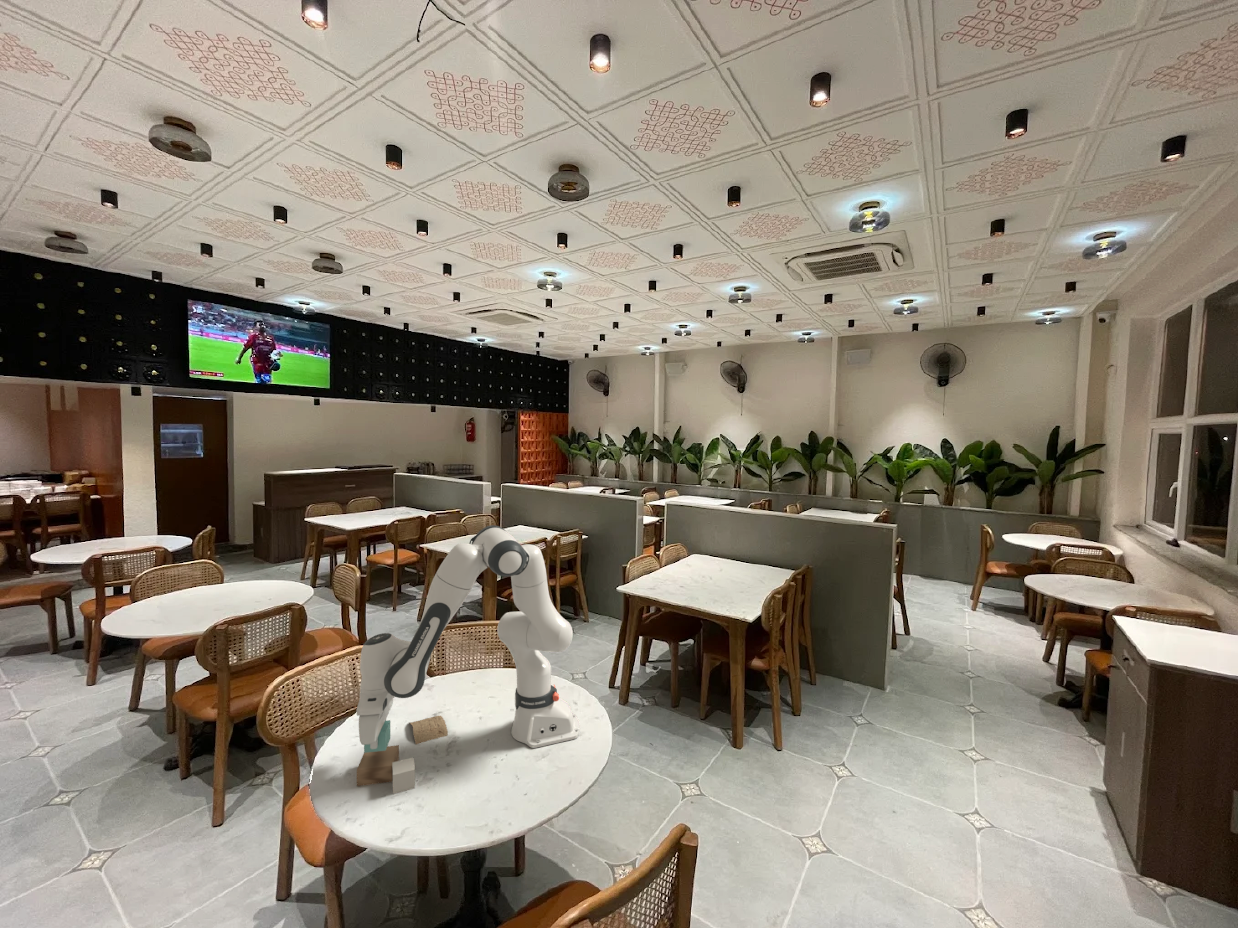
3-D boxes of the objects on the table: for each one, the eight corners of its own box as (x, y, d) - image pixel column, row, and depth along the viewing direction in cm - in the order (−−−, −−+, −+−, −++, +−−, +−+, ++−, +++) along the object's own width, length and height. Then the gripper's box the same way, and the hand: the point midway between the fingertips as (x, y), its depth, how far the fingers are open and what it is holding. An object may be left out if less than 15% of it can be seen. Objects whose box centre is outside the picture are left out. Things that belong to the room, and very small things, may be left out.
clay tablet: (407, 724, 163) (407, 716, 163) (438, 715, 168) (439, 707, 168) (416, 748, 151) (416, 740, 151) (449, 738, 156) (449, 730, 156)
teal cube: (390, 738, 141) (390, 720, 141) (385, 750, 136) (385, 731, 136) (369, 740, 140) (369, 722, 140) (364, 752, 135) (364, 733, 135)
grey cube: (413, 775, 138) (413, 757, 138) (414, 788, 134) (414, 769, 133) (392, 781, 136) (392, 762, 136) (392, 794, 131) (392, 775, 131)
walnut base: (398, 761, 144) (398, 744, 144) (392, 782, 136) (392, 765, 135) (365, 765, 142) (365, 748, 142) (356, 787, 134) (356, 769, 133)
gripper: (376, 675, 147) (376, 719, 147) (354, 713, 127) (354, 764, 128) (398, 673, 148) (398, 717, 149) (380, 711, 128) (380, 761, 129)
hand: (377, 739), depth 138 cm, fingers closed on teal cube, 5 cm apart
